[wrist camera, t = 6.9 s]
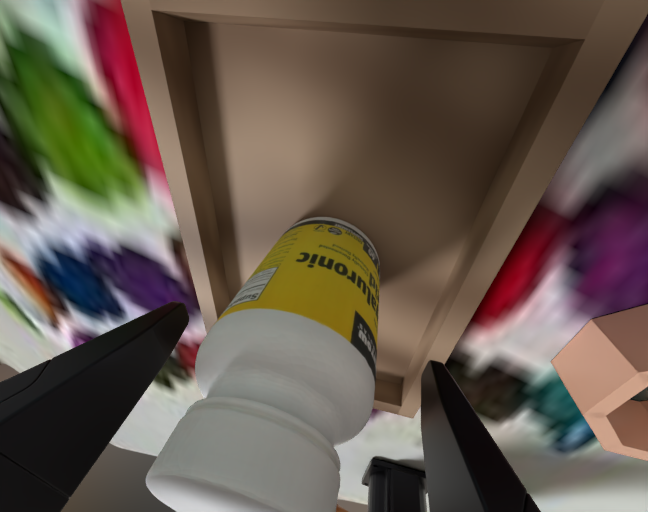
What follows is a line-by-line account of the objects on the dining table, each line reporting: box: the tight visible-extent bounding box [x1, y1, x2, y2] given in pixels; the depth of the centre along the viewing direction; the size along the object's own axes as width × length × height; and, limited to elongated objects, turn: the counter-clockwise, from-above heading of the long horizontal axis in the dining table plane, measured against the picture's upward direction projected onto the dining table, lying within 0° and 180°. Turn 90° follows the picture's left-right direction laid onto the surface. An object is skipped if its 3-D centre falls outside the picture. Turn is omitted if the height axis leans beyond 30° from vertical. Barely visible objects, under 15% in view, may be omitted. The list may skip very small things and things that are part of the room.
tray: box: [121, 0, 648, 418], centre depth 13 cm, size 20×14×2 cm
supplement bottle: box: [146, 217, 380, 512], centre depth 9 cm, size 5×5×10 cm
